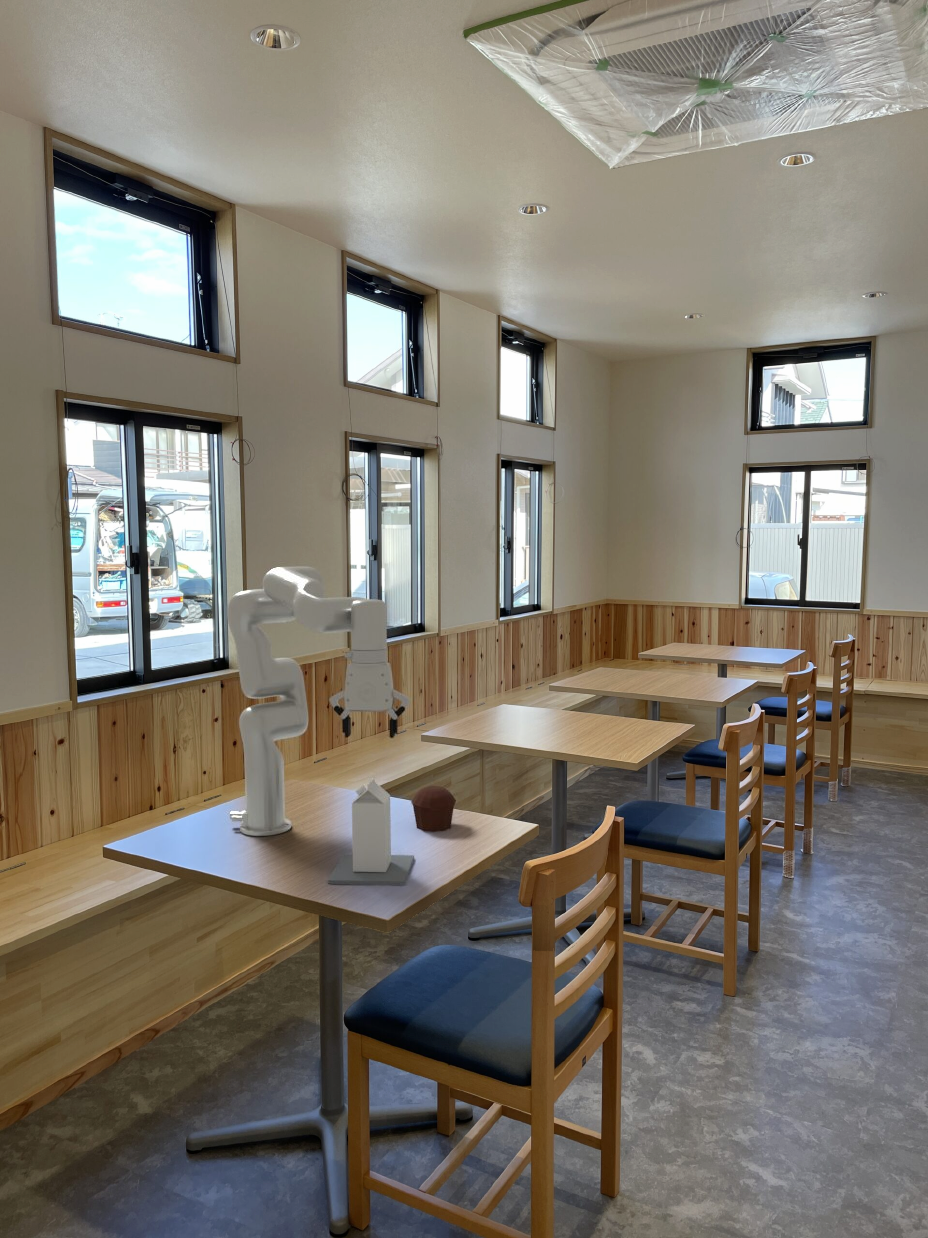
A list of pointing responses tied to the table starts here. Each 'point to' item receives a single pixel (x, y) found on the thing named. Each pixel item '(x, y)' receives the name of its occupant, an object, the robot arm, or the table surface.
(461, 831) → the table surface
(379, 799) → the milk carton
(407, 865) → the mat
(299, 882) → the table surface
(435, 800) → the muffin
